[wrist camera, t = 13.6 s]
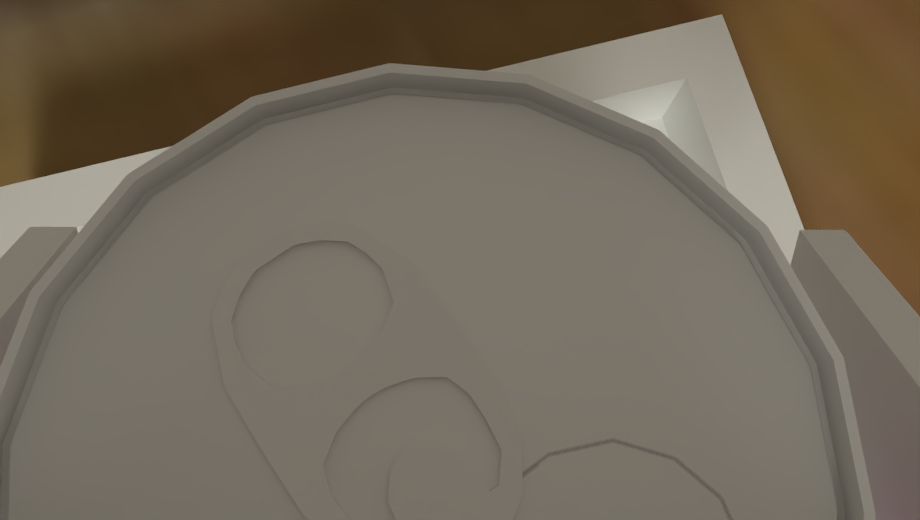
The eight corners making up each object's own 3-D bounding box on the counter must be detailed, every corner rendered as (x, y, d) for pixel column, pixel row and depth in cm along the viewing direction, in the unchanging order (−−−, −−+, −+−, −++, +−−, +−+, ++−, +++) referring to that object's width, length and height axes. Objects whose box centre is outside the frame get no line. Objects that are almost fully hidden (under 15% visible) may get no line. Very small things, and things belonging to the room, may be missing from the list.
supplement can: (658, 492, 21) (1175, 600, 6) (394, 697, 19) (251, 1449, 5) (474, 242, 22) (536, -154, 8) (217, 419, 21) (-307, 358, 6)
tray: (132, 941, 19) (62, 1047, 16) (29, 235, 23) (-44, 197, 20) (910, 699, 21) (1002, 747, 17) (684, 75, 25) (721, 14, 21)
